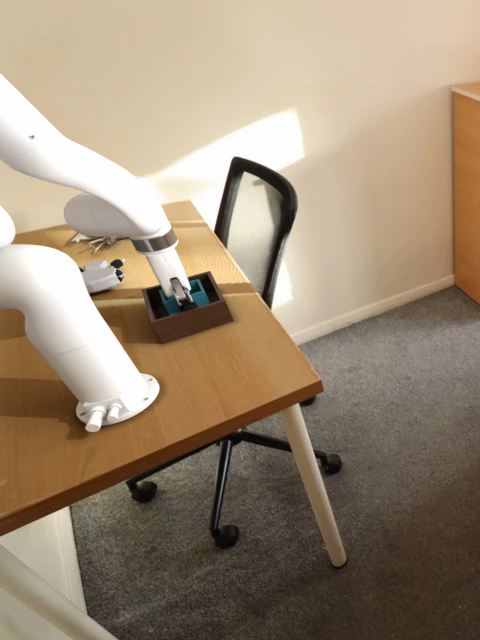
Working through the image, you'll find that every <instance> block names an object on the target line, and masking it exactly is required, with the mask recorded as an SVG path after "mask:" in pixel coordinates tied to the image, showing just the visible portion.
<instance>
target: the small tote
mask: <svg viewBox="0 0 480 640" xmlns="http://www.w3.org/2000/svg"><path fill="white" fill-rule="evenodd" d="M189 284H190V287H191V290H190V291H189V293H190V295H191V297H192V299H193V301H195V302H196V304H197V306H198V307H200V306H203V305H206V304H210V301H209V299H208V297H207V295H206V293H205V291H204V289H203V287H202V285H201V283H200V280H199V279H197V280H193V281H190V282H189ZM182 289H183V290H185V287H184V288H182ZM174 291H175V290H174ZM159 292H160V295H161V298H162V301H163V304H164V306H165V308H166V309H167V311H168V313H169V315H174V314H177V313H180V312H181V310H180V308H179V306H178V305H179V304H178V302H177V300H176V298H175V296H174V294H173V296H170V297H167V296H166V295H165V293H164V291H163V289H161V290H159ZM175 293H176V291H175ZM184 294H185V295H186V297H188V295H187V293H184Z"/></svg>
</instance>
